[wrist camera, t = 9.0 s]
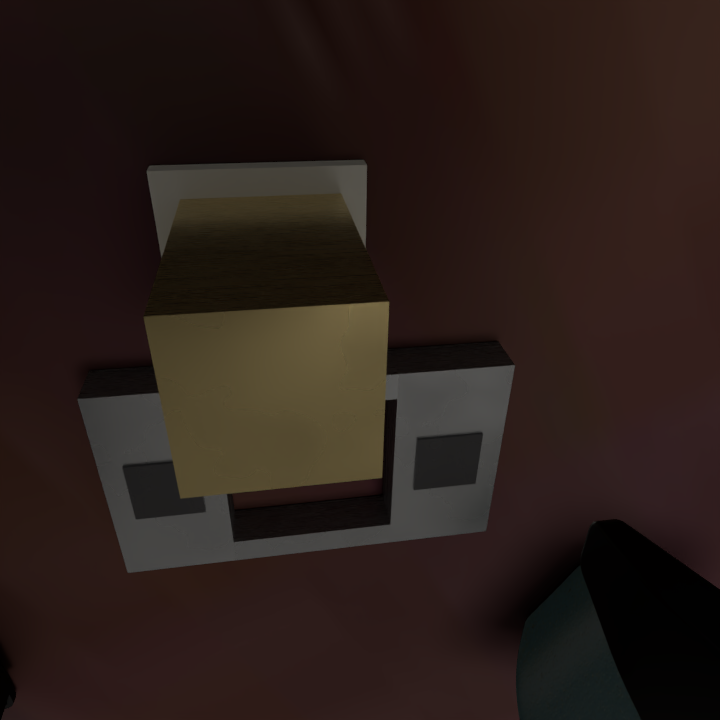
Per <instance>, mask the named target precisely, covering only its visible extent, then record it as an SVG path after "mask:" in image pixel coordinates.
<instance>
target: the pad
mask: <svg viewBox="0 0 720 720" xmlns="http://www.w3.org/2000/svg"><path fill="white" fill-rule="evenodd" d="M146 172H147V177H148V183H149V189H150V195H151V200H152V206H153V212H154V218H155V223H156V229H157V235H158V241H159V246H160V252H161V258H162V255H163V252H164V249H165V246H166V243H167V239H168V236H169V233H170V230H171V227H172V223H173V220H174V217H175V214H176V211H177V207H178V204H179V201H180V199H200V198H228V197H255V196H283V195H311V194H338V193H341V194H342V196H343V198H344V201H345V203H346V205H347V207H348V210H349V212H350V214H351V216H352V219H353V221H354V223H355V225H356V228H357V230H358V232H359V234H360V237H361V239H362V241H363V243H364V246H365V248H366V197H367V164H366V163H365V161H364V160H335V161H299V162H262V163H225V164H188V165H151V166H149V167H148V169H147V171H146Z"/></svg>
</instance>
